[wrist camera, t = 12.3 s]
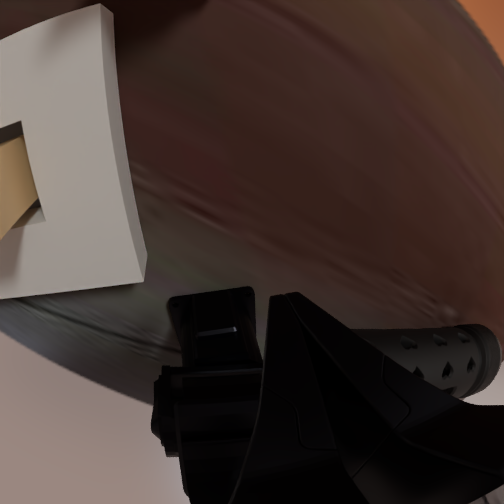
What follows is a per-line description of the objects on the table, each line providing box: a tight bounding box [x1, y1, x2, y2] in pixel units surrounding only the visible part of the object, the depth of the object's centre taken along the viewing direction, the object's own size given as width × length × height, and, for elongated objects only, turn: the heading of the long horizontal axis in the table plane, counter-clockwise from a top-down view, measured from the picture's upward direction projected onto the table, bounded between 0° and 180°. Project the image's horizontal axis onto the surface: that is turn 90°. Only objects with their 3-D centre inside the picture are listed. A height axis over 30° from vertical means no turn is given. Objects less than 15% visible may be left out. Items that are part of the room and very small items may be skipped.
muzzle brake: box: [351, 324, 502, 398], centre depth 28 cm, size 10×28×10 cm, turn 74°
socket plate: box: [0, 3, 147, 299], centre depth 14 cm, size 16×16×3 cm
